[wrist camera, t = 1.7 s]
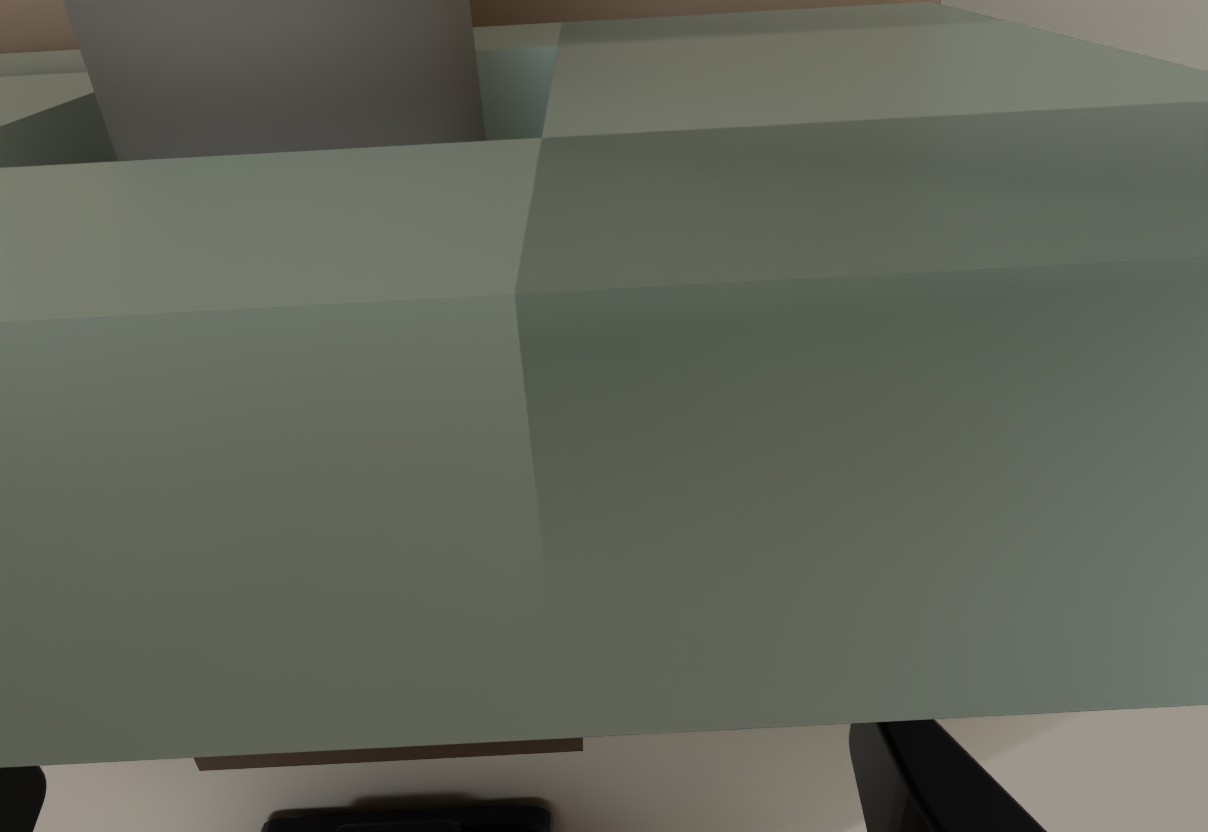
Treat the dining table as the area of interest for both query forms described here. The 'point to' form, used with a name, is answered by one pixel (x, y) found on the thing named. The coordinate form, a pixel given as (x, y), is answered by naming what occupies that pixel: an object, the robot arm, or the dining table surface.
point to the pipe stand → (306, 114)
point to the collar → (614, 398)
